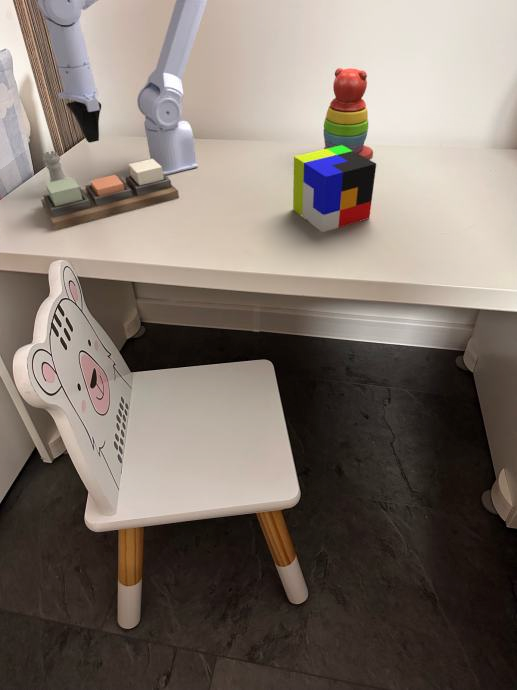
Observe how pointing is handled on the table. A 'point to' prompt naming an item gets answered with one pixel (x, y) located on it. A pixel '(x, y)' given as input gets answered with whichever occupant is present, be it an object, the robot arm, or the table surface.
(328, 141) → the stacking bear
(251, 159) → the table surface
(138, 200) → the button board
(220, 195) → the table surface
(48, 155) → the rook chess piece
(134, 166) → the cream button
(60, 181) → the sage button
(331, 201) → the puzzle toy
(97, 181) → the terracotta button
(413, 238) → the table surface
